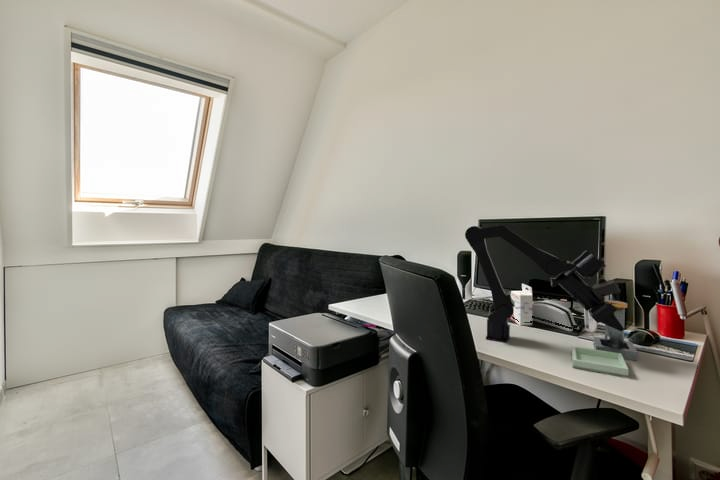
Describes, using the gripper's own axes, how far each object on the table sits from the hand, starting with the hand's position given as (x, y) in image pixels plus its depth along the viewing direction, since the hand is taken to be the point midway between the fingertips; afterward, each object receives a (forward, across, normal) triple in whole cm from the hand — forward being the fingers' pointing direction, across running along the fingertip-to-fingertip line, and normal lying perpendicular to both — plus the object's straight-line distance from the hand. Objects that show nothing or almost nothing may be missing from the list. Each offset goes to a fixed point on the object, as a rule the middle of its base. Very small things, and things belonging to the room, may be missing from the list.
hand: (620, 327), depth 98 cm
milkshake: (+4, +21, +8) cm, 23 cm away
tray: (0, -12, +11) cm, 17 cm away
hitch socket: (+4, 0, +6) cm, 8 cm away
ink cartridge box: (-13, +23, +24) cm, 35 cm away
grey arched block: (-5, +24, +16) cm, 29 cm away
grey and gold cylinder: (+4, 0, +6) cm, 8 cm away
